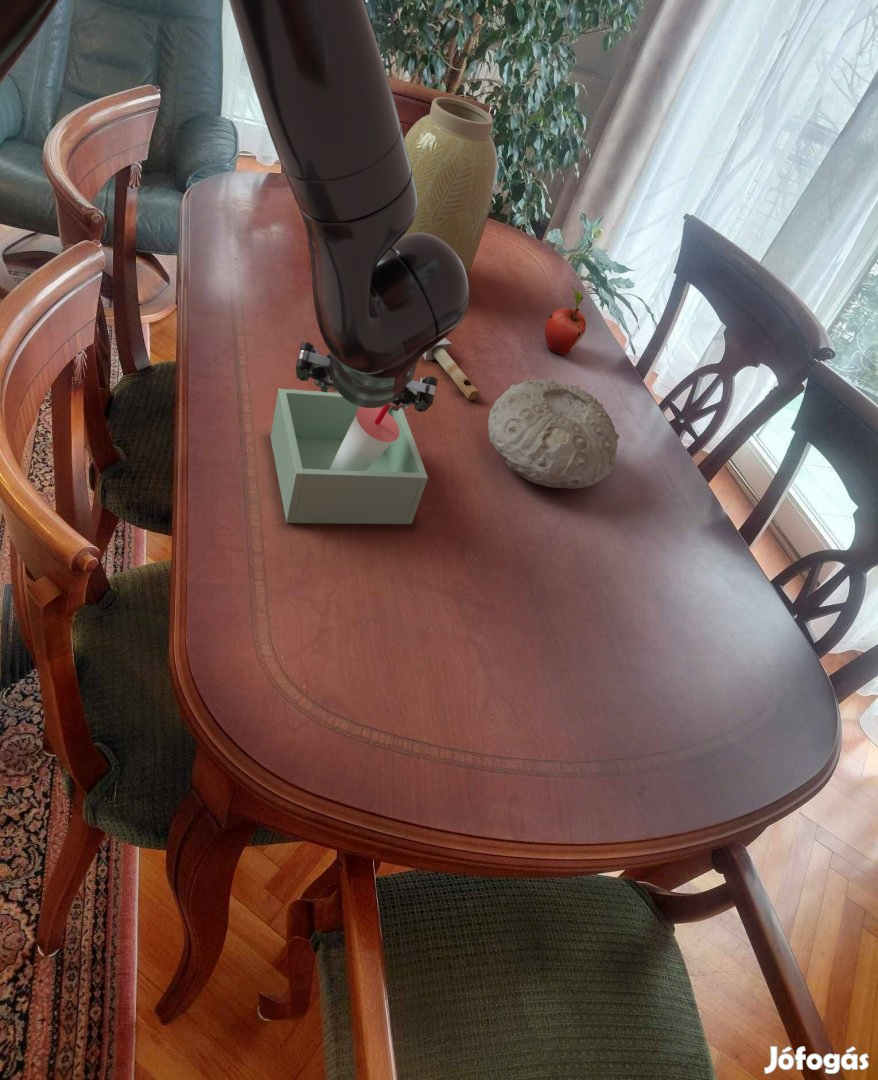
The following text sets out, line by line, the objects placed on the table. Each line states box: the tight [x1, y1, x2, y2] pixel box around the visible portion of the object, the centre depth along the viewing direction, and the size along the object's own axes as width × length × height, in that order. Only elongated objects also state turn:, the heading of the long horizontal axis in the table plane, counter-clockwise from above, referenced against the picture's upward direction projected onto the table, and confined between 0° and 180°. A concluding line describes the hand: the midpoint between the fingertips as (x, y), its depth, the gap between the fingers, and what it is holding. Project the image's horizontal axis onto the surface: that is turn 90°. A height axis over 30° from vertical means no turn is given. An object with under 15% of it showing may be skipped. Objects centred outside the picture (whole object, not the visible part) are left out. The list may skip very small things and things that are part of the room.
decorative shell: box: [487, 378, 620, 490], centre depth 103 cm, size 18×18×10 cm
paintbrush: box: [422, 337, 480, 401], centre depth 117 cm, size 4×3×20 cm
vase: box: [404, 96, 499, 275], centre depth 127 cm, size 17×17×27 cm
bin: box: [270, 387, 429, 525], centre depth 90 cm, size 15×15×7 cm
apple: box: [544, 286, 587, 356], centre depth 127 cm, size 8×7×10 cm
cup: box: [330, 405, 400, 471], centre depth 88 cm, size 5×5×12 cm
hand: (361, 392), depth 86 cm, fingers open, 7 cm apart
